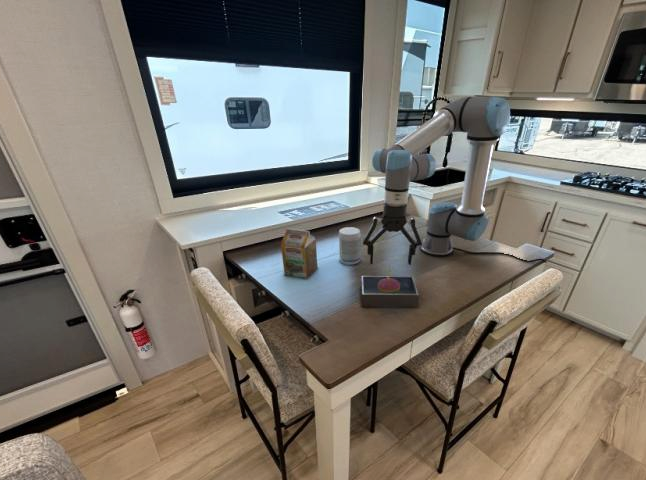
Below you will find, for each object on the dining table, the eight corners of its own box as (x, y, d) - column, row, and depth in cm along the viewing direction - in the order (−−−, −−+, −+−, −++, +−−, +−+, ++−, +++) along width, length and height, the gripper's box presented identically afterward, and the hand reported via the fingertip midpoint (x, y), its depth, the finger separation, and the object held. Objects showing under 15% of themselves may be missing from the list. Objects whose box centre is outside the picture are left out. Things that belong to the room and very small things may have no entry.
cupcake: (375, 290, 126) (376, 263, 119) (396, 289, 126) (399, 262, 120) (378, 302, 118) (380, 274, 112) (401, 301, 119) (404, 273, 113)
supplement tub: (364, 262, 147) (365, 231, 139) (346, 267, 143) (346, 236, 135) (352, 254, 154) (352, 225, 146) (335, 259, 150) (334, 229, 142)
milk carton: (317, 268, 142) (315, 227, 132) (307, 279, 134) (303, 236, 123) (296, 264, 145) (292, 224, 135) (284, 275, 137) (279, 232, 126)
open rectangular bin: (411, 288, 128) (413, 276, 125) (417, 307, 117) (419, 294, 114) (361, 287, 128) (361, 275, 125) (361, 306, 117) (362, 294, 114)
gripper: (356, 206, 100) (355, 267, 111) (436, 207, 100) (427, 268, 111) (356, 199, 106) (355, 257, 118) (431, 200, 106) (423, 258, 118)
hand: (390, 262), depth 115 cm, fingers open, 13 cm apart
